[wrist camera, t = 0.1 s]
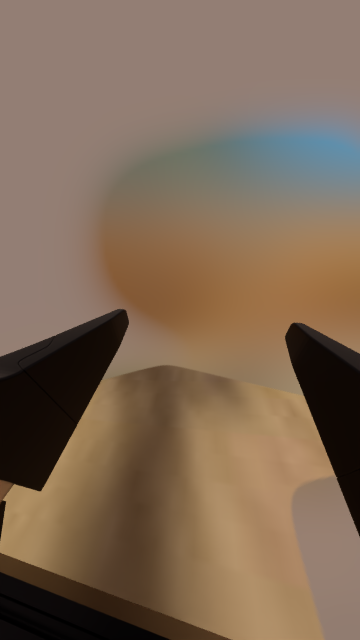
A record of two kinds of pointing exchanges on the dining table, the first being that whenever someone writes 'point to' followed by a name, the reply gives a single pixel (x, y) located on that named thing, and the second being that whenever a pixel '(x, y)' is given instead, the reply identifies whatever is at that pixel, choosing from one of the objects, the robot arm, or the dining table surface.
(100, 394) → the dining table surface
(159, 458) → the dining table surface
